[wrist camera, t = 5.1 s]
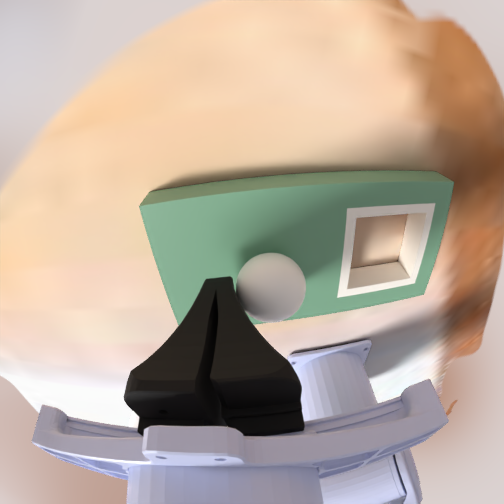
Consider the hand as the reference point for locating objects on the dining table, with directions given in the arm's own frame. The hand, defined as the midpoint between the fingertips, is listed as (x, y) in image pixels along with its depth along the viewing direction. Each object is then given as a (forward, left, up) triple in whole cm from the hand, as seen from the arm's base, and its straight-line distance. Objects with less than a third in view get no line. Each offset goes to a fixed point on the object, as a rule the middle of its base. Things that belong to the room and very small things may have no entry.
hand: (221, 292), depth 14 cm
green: (0, -5, -4) cm, 7 cm away
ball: (0, -2, 0) cm, 3 cm away
